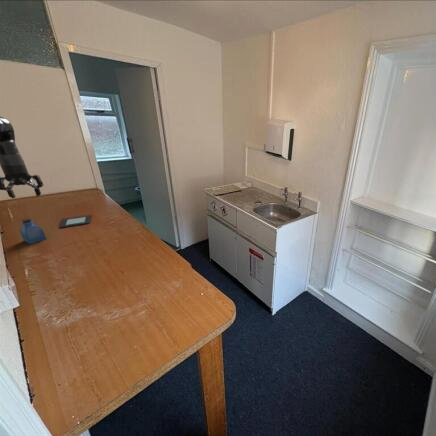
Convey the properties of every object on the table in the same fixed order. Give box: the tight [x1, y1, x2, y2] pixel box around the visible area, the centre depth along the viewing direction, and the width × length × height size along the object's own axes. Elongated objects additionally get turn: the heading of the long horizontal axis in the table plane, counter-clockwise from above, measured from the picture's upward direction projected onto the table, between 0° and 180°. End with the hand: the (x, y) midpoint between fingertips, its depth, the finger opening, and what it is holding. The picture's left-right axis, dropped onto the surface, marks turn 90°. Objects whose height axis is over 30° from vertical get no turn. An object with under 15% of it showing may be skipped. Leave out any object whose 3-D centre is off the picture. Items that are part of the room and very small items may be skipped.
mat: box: [59, 215, 92, 229], centre depth 139 cm, size 13×13×1 cm
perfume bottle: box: [19, 217, 47, 245], centre depth 115 cm, size 6×6×12 cm
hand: (26, 196), depth 113 cm, fingers open, 8 cm apart
